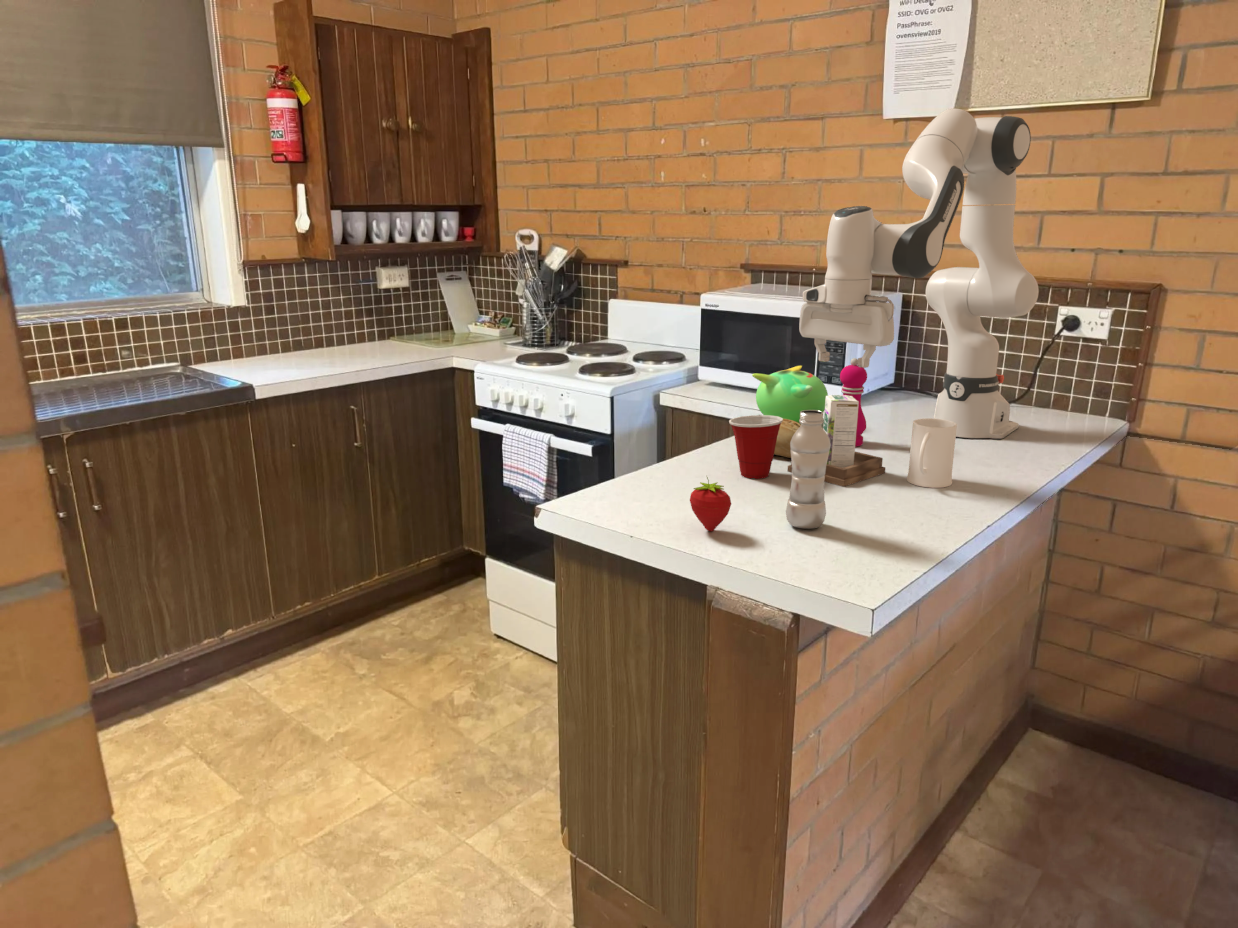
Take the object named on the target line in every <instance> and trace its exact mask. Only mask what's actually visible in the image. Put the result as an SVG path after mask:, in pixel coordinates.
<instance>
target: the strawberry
mask: <svg viewBox="0 0 1238 928" xmlns="http://www.w3.org/2000/svg"><path fill="white" fill-rule="evenodd" d="M706 479H707V483H706V482H699V484H701V485H702V486H697V487H694V488H693V491H692V492H691V493H690V498H689V502H690V506H691V511H692V512H693V513H694V515H695V517H696V518H697V519H698V520H697V521H699V522H700V523H701V524H702V526H703V527H704V529H705V530H706V531H708V532H714V531H715V530H716V529H717V528H718V527H719V525H721V524H722V522H723V521H724V520H725V518H727V516H728V515H729V513H730V508H731V507H732V501H731V497H730V495H729V494H728V493H727V492H726V491H725V488H723V487H725V485H720V484H718V482H717V481H716V482H713V483H710V480H709V478H708V475H706Z"/></svg>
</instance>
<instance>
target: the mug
mask: <svg viewBox="0 0 1238 928" xmlns="http://www.w3.org/2000/svg"><path fill="white" fill-rule="evenodd" d="M956 430H957V424H956V423H954V422H952V421H948V420H943V419H934V418H931V417H930V418H917V419H915V420H913V421H912V430H911V441H910V450H909V451H910V452H909V453H910V454H909V463H908V472H907V476H906V481H907V482H908V483H910V484H912V485H914V486H917V487H923V488H932V489H941V488H947V487H951V485H952V484H953V475H952V474H953V468H954V467H953V465H954V458H955V457H954V456H955V448H956V445H955V444H956V439H957V438H956Z"/></svg>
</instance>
